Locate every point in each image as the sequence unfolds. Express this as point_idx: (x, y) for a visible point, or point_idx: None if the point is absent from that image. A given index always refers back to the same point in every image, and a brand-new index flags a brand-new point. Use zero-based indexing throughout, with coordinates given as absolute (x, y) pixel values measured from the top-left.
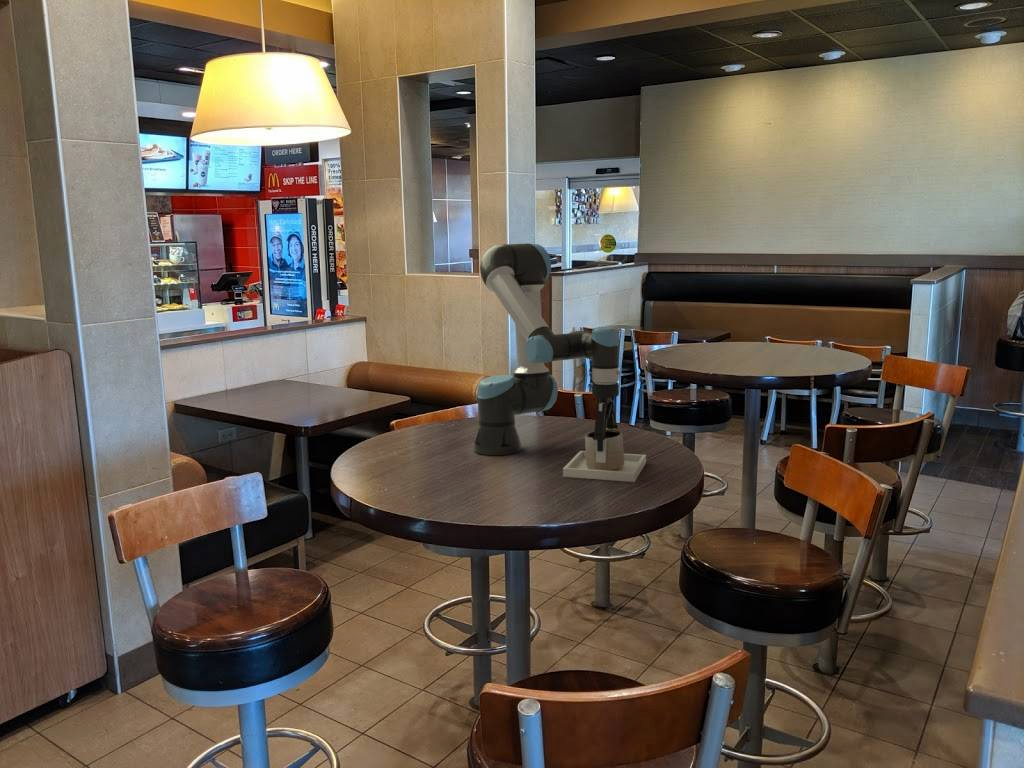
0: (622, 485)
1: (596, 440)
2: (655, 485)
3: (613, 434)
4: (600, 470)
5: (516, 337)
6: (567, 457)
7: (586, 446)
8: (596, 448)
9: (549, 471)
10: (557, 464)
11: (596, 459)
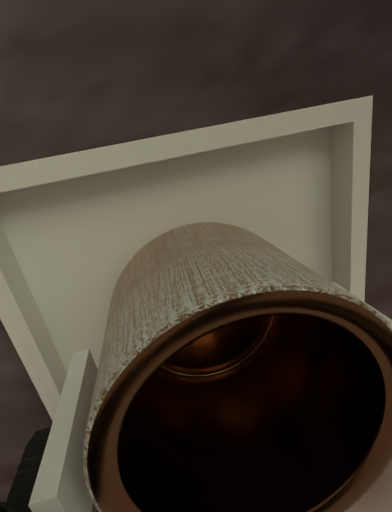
0: (24, 444)
1: (34, 498)
2: (94, 507)
3: (354, 428)
4: (42, 374)
5: None
6: (347, 14)
7: (135, 301)
8: (54, 427)
9: (11, 33)
10: (185, 16)
11: (71, 366)
